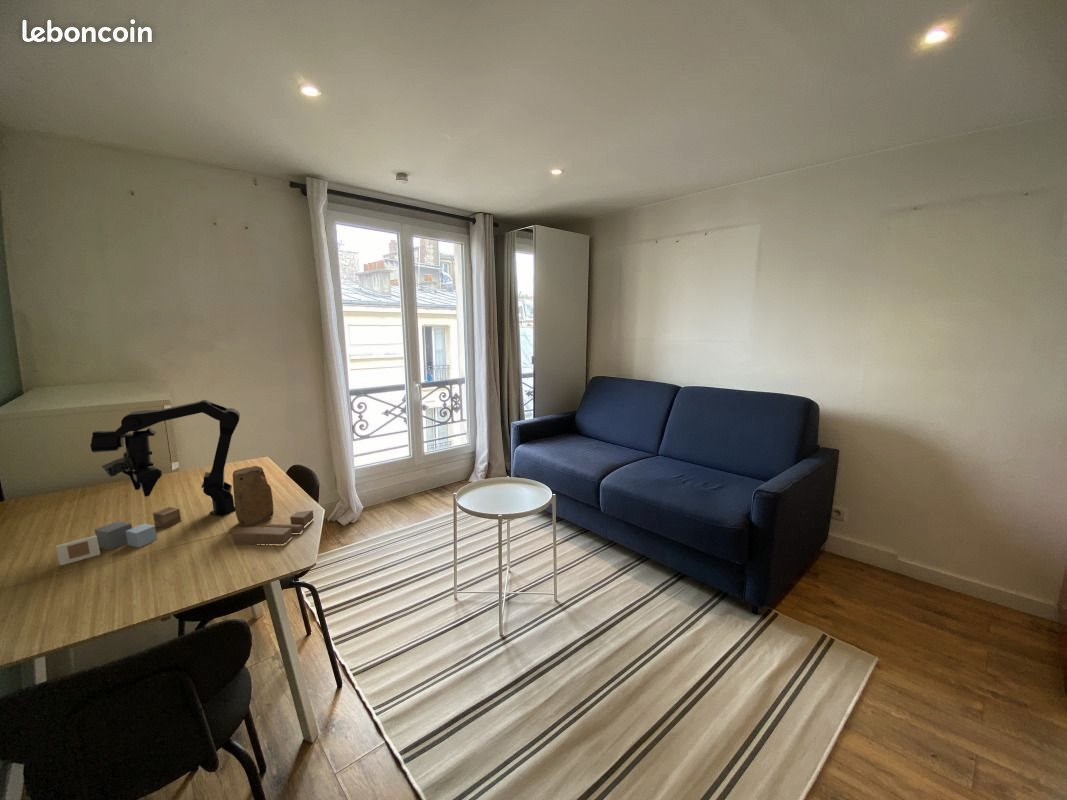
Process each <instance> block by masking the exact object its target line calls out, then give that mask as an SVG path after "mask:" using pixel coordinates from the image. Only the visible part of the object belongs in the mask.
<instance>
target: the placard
mask: <svg viewBox="0 0 1067 800" xmlns="http://www.w3.org/2000/svg"><path fill="white" fill-rule="evenodd" d="M55 547H56V548H55V549H56V554H57V559H58V563H59V566H64V565H68V564H71V563H75V562H78V561H82V560H85V559H89V558H92V557H97V556H100V555H101V549H100V547H99V545H98V540H97V535H96V534H95V535H92V536H88V537H84V538H81V539H80V538H79V539H77V540H73V541H69V542H64V543H62V544H57V545H55Z"/></svg>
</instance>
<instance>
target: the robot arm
mask: <svg viewBox="0 0 1067 800" xmlns="http://www.w3.org/2000/svg"><path fill="white" fill-rule="evenodd" d="M202 413H203V414H205V415H206V416H208V417H210V418H213V419H214V420H216V421H219V436H218V437H219V438H218V442H217V446H216V450H215V454H214V459H213V462H212V467H211V470H210V471H208V472H207V471H205V473H204V475H203V481H202V484H201V486H200V487H201V489H202V491H203V493H204V494H205V495H206V496H208V497H210V499H211V503H212V508H213V509H212V510H211V511H209V514H210V515H215V516H225V515H228V514H230V513H231V512H232V513H233V512H235V503H234V494H232V490H233V484H230V483H228V482H226V481H225V467H226V463H227V458H228V454H229V450H230V445H231V442H232V437H233V435H234V432H235V430H236V428H237V426H238V424H239V422H240V418H241V413H240V412H239V411H238V410H237V409H236V408H234V407H233V408H231V407H229V408H227V407H225V406H223V405H220V404H217V403H213V402H212V401H209V400H206V399H202V400H199V401H195V402H190V403H185V404H181V405H176V406H171V407H167V408H162V409H153V410H151V409H150V410H149V409H146V410H136V411H135V410H134V411H131V412H129V413H128V414H126V415H125V416H124V417H123V418H122V419H121V425H120V426H119V427H117V429H115V430H104V431H103V430H95V431H92V433H91V434H92V437H91V443H90V451H91V452H92V453H105V452H117V451H119V450H120V449H121V448H123V447H124V446H125V452H124V453H122V457H121V458H117V459H114V460H112V461H109V462H108V463H105V464H103V465H101V468H102V469H103V471H104V472H105V474H106V475H107V476H109V477H110V478H111V477H115V476H118V474H120V473H123V474H125V475H126V476H128V478H129V480H130V481H131V484H132V486H133V488H134V490H135V491H139V490H140V489H141V491H142V492H143V493H142V494H143V496H144V497H145V498H146V497H149V496H151V494H152V491H153V490H154V487H155V485H156V484H157V482H159V481H158V480H160V478H161V477H162V476H163V474H162V470H161V469H159V468H157V467H155V466H154V462H152V460H151V455H153V451H152V450H151V447H150V437H154V436H155V435H156V434H157V431H156V430H153V429H151V427H152V426H153V425H156V424H158V423H162V422H166V421H170V420H174V419H178V418H183V417H187V416H192V415H193V416H194V415H197V414H202ZM146 428H147V429H146ZM144 429H145V430H144ZM130 432H131V433H130Z"/></svg>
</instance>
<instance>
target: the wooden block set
mask: <svg viewBox="0 0 1067 800" xmlns="http://www.w3.org/2000/svg"><path fill="white" fill-rule="evenodd" d="M289 518H290V524H289V523H287V524H286V523H266V524H265V526H264V527H258V526H257V527H254V526H253V527H252V526H244V527H242V528H239V529H236V530H235V531H233V532H232V540H233V544H234V545H235V544H236V545H237V544H238V545H255V544H260V545H261V544H265V545H266V544H268V545H269V544H284V543H286V542H287V541H288V540H289V539H290V538H291V537H292V538H293V534H292V533H300V532H301V531H302V530H304V531H305V529H304V526H305V525H306V524H307V523H308V522H310V521H311V520H312V519H313V518H314V511H313V510H311V509H310V510H305V511H296V512H295V513H293V514H291V516H290V517H289ZM260 545H259V546H260Z"/></svg>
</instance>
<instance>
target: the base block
mask: <svg viewBox="0 0 1067 800" xmlns="http://www.w3.org/2000/svg"><path fill="white" fill-rule="evenodd" d="M132 528H133V526H132V523H130V522H127V521H126V522H124V521H121V520H118V521H115V522H111V523H109V524H106V525H104V526H101V527H97V528H95V529H94V533H95V534H94V535H95V536H96V535H97V540H98V545H99V548H101V549H106V550H109V551H112V550H115V549H117V548H119V547H122V546H124V545H126V544H127V545H128V543H127V537H126V532H125V531H126V530H129V529H132Z"/></svg>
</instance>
